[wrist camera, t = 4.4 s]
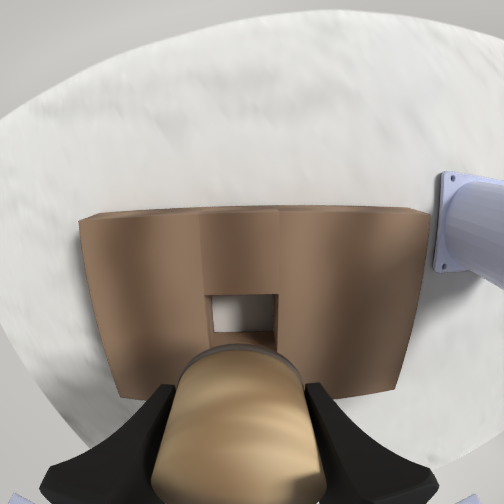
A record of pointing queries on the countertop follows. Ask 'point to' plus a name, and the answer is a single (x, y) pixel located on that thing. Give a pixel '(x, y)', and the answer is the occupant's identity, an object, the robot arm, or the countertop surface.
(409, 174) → the countertop surface
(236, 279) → the walnut board
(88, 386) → the countertop surface
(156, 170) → the countertop surface
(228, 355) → the oak peg
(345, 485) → the robot arm
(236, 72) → the countertop surface
